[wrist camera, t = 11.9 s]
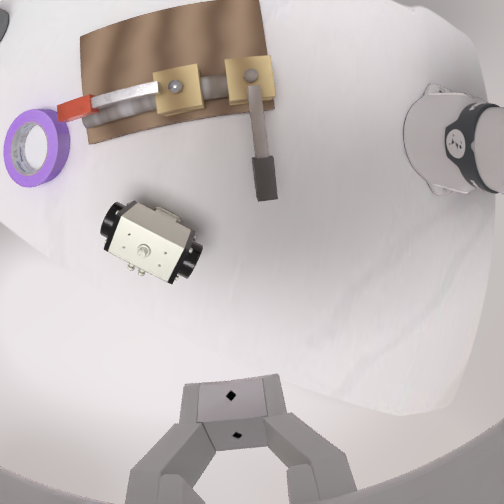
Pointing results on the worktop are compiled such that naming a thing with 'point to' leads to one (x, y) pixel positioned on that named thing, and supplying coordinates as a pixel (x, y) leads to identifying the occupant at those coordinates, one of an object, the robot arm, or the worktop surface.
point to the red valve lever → (110, 99)
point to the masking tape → (55, 147)
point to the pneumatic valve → (150, 240)
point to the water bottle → (3, 22)
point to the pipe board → (168, 52)
